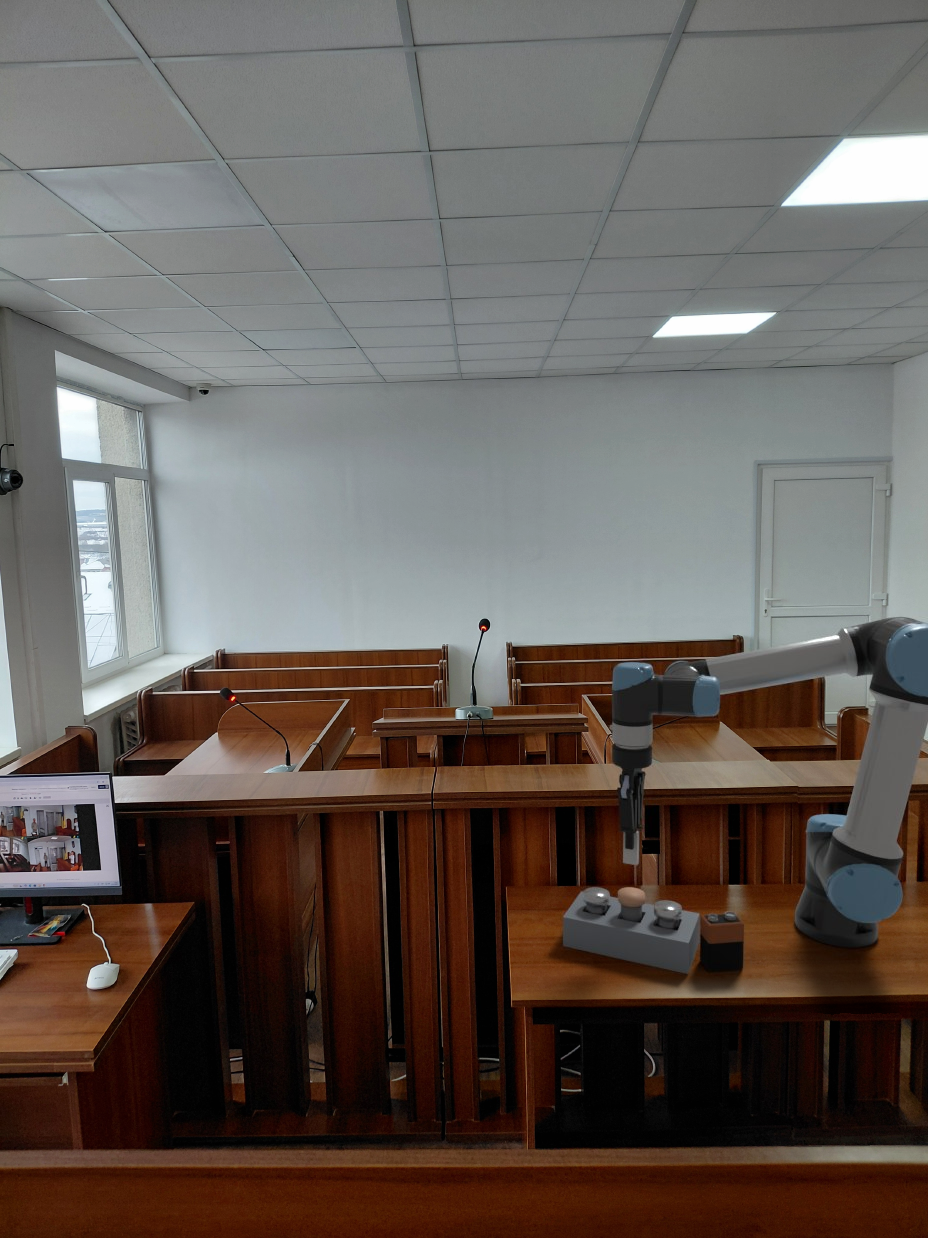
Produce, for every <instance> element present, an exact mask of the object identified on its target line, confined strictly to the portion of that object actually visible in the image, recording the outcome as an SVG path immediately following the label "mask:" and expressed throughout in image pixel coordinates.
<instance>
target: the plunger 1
mask: <svg viewBox="0 0 928 1238" xmlns="http://www.w3.org/2000/svg"><path fill="white" fill-rule="evenodd" d="M610 897H611V894H610V892H609V890H607V889H605V888H603V887H597V886H593V887H588V888H585V889H584V890H583V901H584V902H585V903H586V912H588V913H593V914H598V915H603V916H605V914H606V913H607V905H608V904H609V902H610Z"/></svg>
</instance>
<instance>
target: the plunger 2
mask: <svg viewBox="0 0 928 1238" xmlns="http://www.w3.org/2000/svg"><path fill="white" fill-rule="evenodd" d="M653 905H654V915H655V916H656V917H657V927H662V928H667V929H672V930H677V931H678V923H679V919H680V918H681V917H682V910H683V907H682V905H681V904H680V903H678V902H676V901H674V900H673V901H672V900H667V899H665V900H659V901H656V902H654V904H653Z"/></svg>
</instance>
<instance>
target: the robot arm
mask: <svg viewBox="0 0 928 1238" xmlns="http://www.w3.org/2000/svg"><path fill="white" fill-rule="evenodd" d="M842 674H846V675H849V676H850V677H852V678H855V677H862V676H871V679H870V684H869V687H868V690H869V692H870V693H871V695H872V696H873V699H874V700H875V702H874V707H873V711H872V714H871V718H870V722H869V726H868V730H867V734H866V739H865V742H864V745H863V748H862V749H863V750H862V754H861V756H860V757H861V758H860V762H859V766H858V770H857V772H856V773H857V775H856V778H855V782H854V786H853V790H852V794H851V797H850V801H849V804H848V805H849V806H848V808H847V813H846V815H844V814H832V813H831V814H830V813H825V814H816V815H812V816H810V818H809V819H807V824H806V830H805V834H806V841H805V842H806V844H805V845H806V846H805V849H806V850H805V856H806V857H805V877H804V878H805V880H804V881H805V882H804V885H805V886H804V889H803V891H802V893H801V895H800V898H799V900H798V902H797V906H796V908H795V912H794V924H795V927H796V928H797V929H798V931H800V932H801V933H802V934H803V935H805V936H807V937H809V938H811V939H813V940H815V941H818V942H820V943H823V944H826V945H830V946H835V947H839V948H840V947H841V948H863V947H867V946H870V945H873V944H874V943H876V941H877V940H878V936H879V925H878V922H881V921H884V920H886V919H889V918H890V917H892V916H893V915H894V914H895V913H896V912H897V911H898V910H899V908H900V907H901V905H902V902H903V894H904V892H903V889H902V884H901V882H900V881H901V880H900V879H899V877H898V876H899V872H900V868H901V865H902V861H903V857H904V851H903V849H902V848H901V847H900V845H899V844H898V841H897V840H898V836H899V834H900V829H901V826H902V823H903V817H904V814H905V810H906V807H907V802H908V800H909V799H908V798H909V795H910V792H911V788H912V785H913V780H914V777H915V772H916V769H917V765H918V761H919V758H920V754H921V750H922V746H923V743H924V739H925V735H926V731H927V727H928V622H924V621H920V620H917V619H914V618H911V617H907V616H906V617H905V616H892V617H887V618H883V619H878V620H873V621H870V622H869V621H868V622H864V623H861V624H856V625H853V626H849V627H843V628H841V629H839V631H838V632H837V633H836V634H833V635H829V636H828V635H827V636H823V637H822V636H821V637H817V638H812V639H808V640H807V639H806V640H801V641H797V642H790V643H785V644H781V645H775V646H771V647H764V648H759V649H754V650H749V651H742V652H738V653H734V654H727V655H721V656H717V657H712V658H707V659H701V660H695V661H685V660H678V661H675V662H673V663H671V664H670V665H669V666H668V667H667V668H666V670H665V672H664V674H663V675H662V674H658V673H657V674H656V673H655V672H654V667H653V665H652V664H650V663H646V662H636V661H635V662H633V661H630V662H620V663H618V664H616V665H615V666H614V668H613V670H612V685H611V705H612V706H611V707H612V708H611V716H612V720H611V721H612V723H611V724H610V725H609V730H611V731H612V733H611V734H612V736H611V737H612V742H613V744H612V746H611V762H612V764H613V765H614V766H616V767H619V768H621V770H622V771H621V773H620V774H619V776H618V777H619V778H618V783H619V785H620V786H619V787H617V789H616V795H617V798H618V814H619V815H618V816H619V829H618V831H619V832H622V834H623V835H622V837H623V839H622V841H623V842H622V853H623V854H622V863H623V864H628V865H633V866H638V865H639V863H640V854H639V853H640V830H644V824H640V823H642V821H643V809H644V808H643V806H644V805H643V804H644V791H645V790H644V789H645V779H646V775H647V774H646V771H645V770H643V769H647V768H649V767H651V766H652V763H653V746H652V745H651V744H653V740H654V739H653V734H654V733H653V732H654V729H653V715H657V716H681V717H682V716H683V717H697V718H702V717H714V716H715V717H716V716H717V715H718V714H719V712H720V705H721V695H726V694H733V693H738V692H745V691H749V690H750V691H751V690H755V689H761V688H762V689H763V688H766V687H772V686H779V685H784V684H788V683H789V684H790V683H796V682H801V681H808V680H812V679H819V678H824V677H830V676H836V675H842Z"/></svg>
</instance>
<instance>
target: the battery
mask: <svg viewBox="0 0 928 1238" xmlns="http://www.w3.org/2000/svg"><path fill="white" fill-rule="evenodd" d="M737 915H738V914H737V913H736V912H735V911H731V910H727V911H725V912H724V913H709V914H702V915H700V932H699V960H700V963H702V964H703V966H704V967H705V968H706V970H707V971H708V972H709V973H713V972H714V973H715V972H716V973H717V972H728V971H737V970H742V969H744V952H745V951H744V949H745V948H744V947H745V945H744V942H745V939H744V938H745V923H744V922H743V921H742V920H741V919H740V918H739V917H738V916H737Z"/></svg>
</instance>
